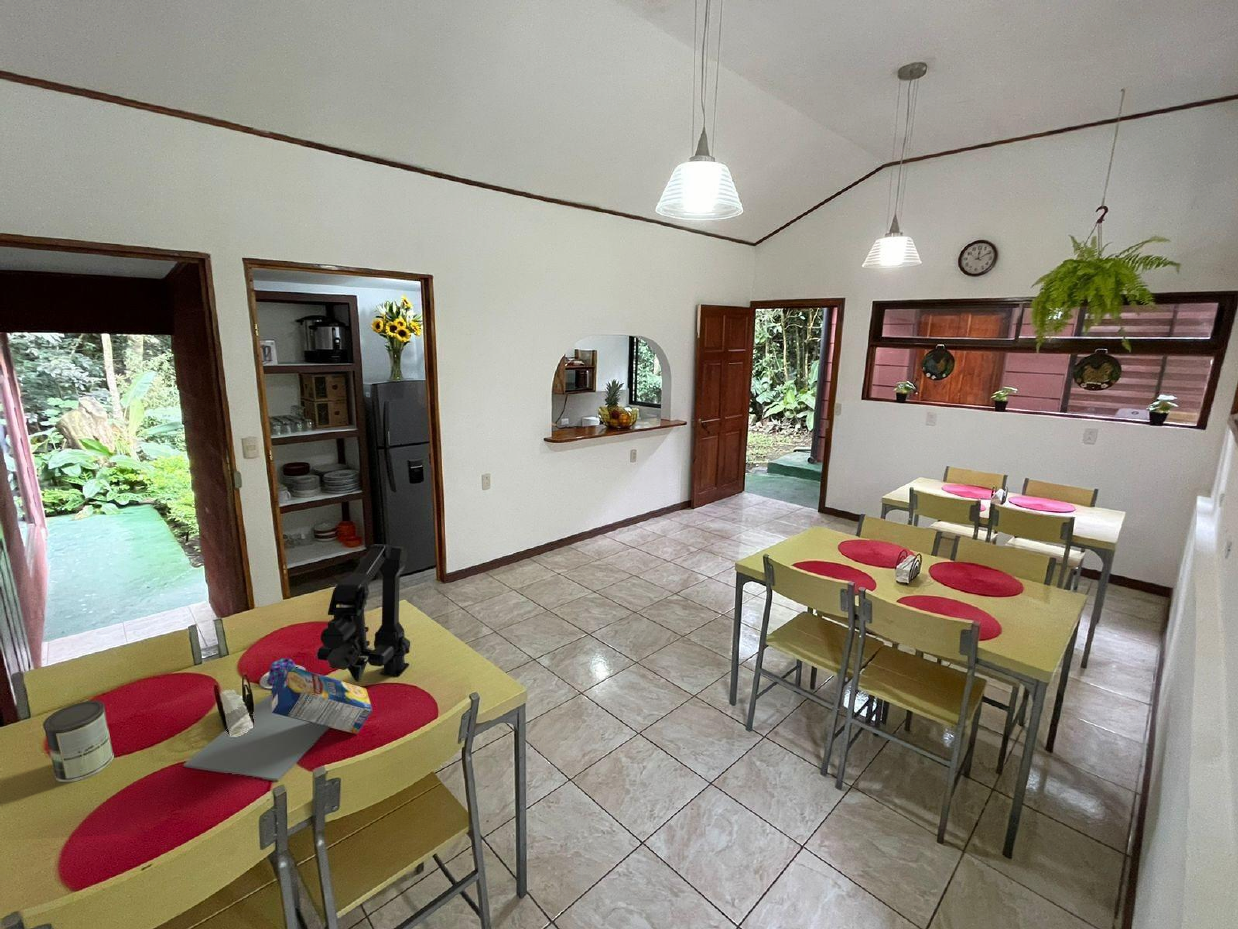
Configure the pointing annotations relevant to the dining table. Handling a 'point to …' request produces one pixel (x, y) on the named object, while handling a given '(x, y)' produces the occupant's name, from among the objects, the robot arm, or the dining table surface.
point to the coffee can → (78, 741)
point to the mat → (260, 746)
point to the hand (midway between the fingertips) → (358, 681)
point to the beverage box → (320, 700)
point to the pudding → (276, 672)
